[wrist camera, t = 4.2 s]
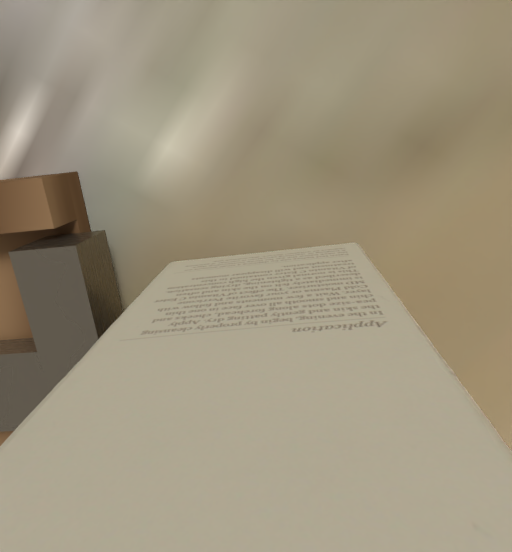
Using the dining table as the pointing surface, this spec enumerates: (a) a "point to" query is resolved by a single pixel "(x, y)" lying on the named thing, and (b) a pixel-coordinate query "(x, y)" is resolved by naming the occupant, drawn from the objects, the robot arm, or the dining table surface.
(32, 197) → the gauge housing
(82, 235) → the gauge carriage
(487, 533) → the small box
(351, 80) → the dining table surface
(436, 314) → the dining table surface
